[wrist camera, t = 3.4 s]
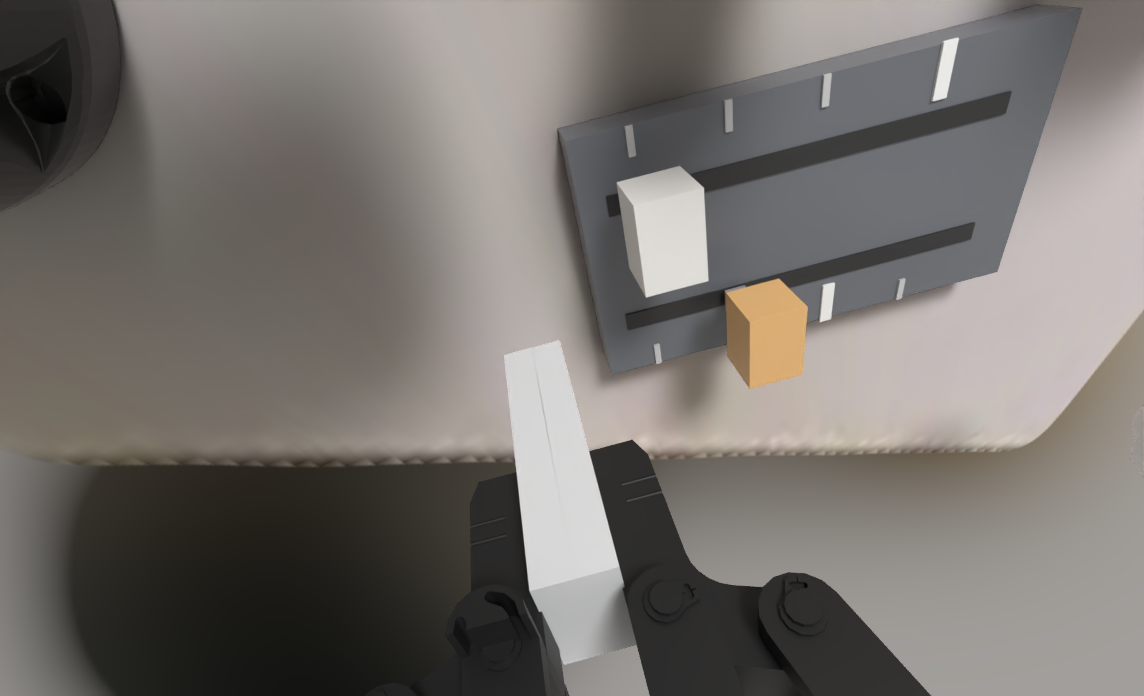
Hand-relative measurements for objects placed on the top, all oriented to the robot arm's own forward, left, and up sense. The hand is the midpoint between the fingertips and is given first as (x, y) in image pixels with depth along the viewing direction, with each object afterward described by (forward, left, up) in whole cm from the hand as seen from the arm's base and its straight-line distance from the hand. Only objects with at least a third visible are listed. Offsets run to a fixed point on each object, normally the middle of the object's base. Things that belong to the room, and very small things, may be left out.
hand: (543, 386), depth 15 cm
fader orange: (+9, -6, -10) cm, 15 cm away
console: (+13, -3, -12) cm, 18 cm away
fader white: (+5, 0, -10) cm, 11 cm away
